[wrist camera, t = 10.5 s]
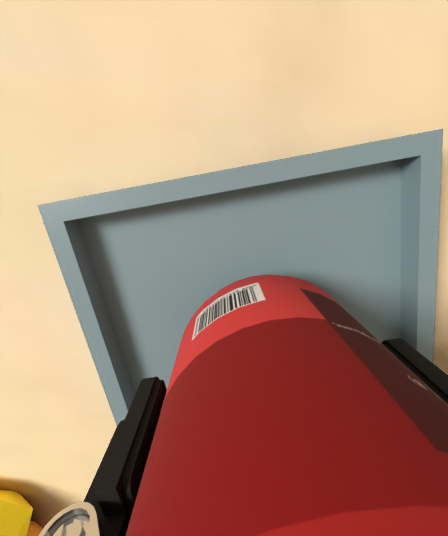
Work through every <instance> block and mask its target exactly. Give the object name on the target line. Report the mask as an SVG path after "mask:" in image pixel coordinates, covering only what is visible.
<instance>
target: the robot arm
mask: <svg viewBox="0 0 448 536" xmlns="http://www.w3.org/2000/svg"><path fill="white" fill-rule="evenodd" d="M382 344H383V345H384V346H385V347H386V348H387V349H388V350H389V351H390V352H391V353H393V354H394V355H395V356H396V357H397V358H398V359H399V360H400V361H401V362H402V363H403V364H404V365H406V366H407V367H408V368H409V369H410V370H411V371H412V372H413V373H414V374H415V375H416V376H417V377H419V378H420V379H421V380H422V381H423V382H424V383H425V384H426V385H427V386H428V387H429V388H430V389H432V390H433V391H434V392H435V393H436V394H437V395H438V396H439V397H440V398H441V399H442V400H444V401H445V402H446V403H447V404H448V375H447V374H445V373H444V372H443V371H442V370H440V369H439V368H438V367H437V366H435V365H434V364H433V363H432V362H430V361H429V360H428V359H427V358H425V357H424V356H423V355H422V354H421V353H419V352H418V351H417V350H416V349H414V348H413V347H412V346H411V345H409V344H408V343H407V342H406V341H404V340H403V339H401V338H395V339H388V340H384V341H382ZM166 392H167V389H166V385H165V382H164V380H160V379H159V378H158V377H151V378H144V379H142V380H141V382H140V385H139V387H138V389H137V392H136V394H135V396H134V399H133V401H132V403H131V406H130V408H129V410H128V413H127V415H126V417H125V420H122V421H120V423H119V424H118V426H117V428H116V430H115V433H114V435H113V437H112V439H111V441H110V444H109V446H108V448H107V450H106V453H105V455H104V457H103V459H102V462H101V464H100V466H99V468H98V471H97V473H96V475H95V477H94V479H93V482H92V484H91V486H90V488H89V491H88V493H87V495H86V497H85V500H84V502H78V503H74V504H72V505H70V506H68V507H66V508H64V509H63V510H61V511H60V512H59V513H58V514H56V515H55V516H54V517H53V518H52V519H51V520H50V521H49V522H48V523H47V524H46V525H45V527H44V528H43V530H42V531H41V533H40V534H39V535H38V536H126V532H127V529H128V525H129V522H130V518H131V515H132V511H133V508H134V504H135V501H136V497H137V494H138V490H139V487H140V483H141V480H142V476H143V473H144V469H145V466H146V462H147V458H148V455H149V451H150V448H151V444H152V441H153V437H154V434H155V430H156V427H157V423H158V420H159V416H160V413H161V409H162V406H163V402H164V399H165V395H166Z"/></svg>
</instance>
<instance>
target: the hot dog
mask: <svg viewBox="0 0 448 536" xmlns="http://www.w3.org/2000/svg"><path fill="white" fill-rule="evenodd" d="M32 511H33V508H32V507H31V506H30V505H29V503H28V502H27V501H26V500H25V499H24V498H23V497H22V496H21V494H19V493H17V492H15V491H9V490H0V536H38V535H39V534H40V533H41V531H42V530H43V528H42V527H41V526H40V525H38V524H37V523H36V522H35V521H30V520H31V515H32Z"/></svg>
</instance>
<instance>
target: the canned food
mask: <svg viewBox="0 0 448 536" xmlns="http://www.w3.org/2000/svg"><path fill="white" fill-rule="evenodd" d="M126 536H448V404H447V403H446V402H445V401H444V400H442V399H441V398H440V397H439V396H438V395H437V394H436V393H435V392H434V391H433V390H432V389H430V388H429V387H428V386H427V385H426V384H425V383H424V382H423V381H422V380H421V379H420V378H419V377H417V376H416V375H415V374H414V373H413V372H412V371H411V370H410V369H409V368H408V367H407V366H406V365H404V364H403V363H402V362H401V361H400V360H399V359H398V358H397V357H396V356H395V355H394V354H393V353H391V352H390V351H389V350H388V349H387V348H386V347H385V346H384V345H383V344H382V343H381V342H380V341H378V340H377V339H376V338H375V337H374V336H373V335H372V334H371V333H370V332H369V331H368V330H367V329H365V328H364V327H363V326H362V325H361V324H360V323H359V322H358V321H357V320H356V319H355V318H354V317H352V316H351V315H350V314H349V313H348V312H347V311H346V310H345V309H344V308H343V307H342V306H340V305H339V304H338V303H337V302H336V301H335V300H334V299H333V298H332V297H330V296H329V295H328V294H327V293H326V292H325V291H324V290H322V289H321V288H319V287H317V286H315V285H313V284H311V283H309V282H308V281H305V280H301V279H298V278H294V277H291V276H280V275H260V276H251V277H248V278H245V279H242V280H238V281H235V282H234V283H232V284H230V285H228V286H226V287H224V288H222V289H221V290H219V291H218V292H217V293H215V294H214V295H213V296H211V297H210V298H209V299H208V300H206V301H205V302H204V303H203V304H202V305H201V307H200V308H199V309H198V310H197V311H196V312H195V313H194V315H193V316H192V318H191V319H190V321H189V323H188V325H187V327H186V328H185V330H184V333H183V336H182V339H181V343H180V346H179V349H178V353H177V356H176V360H175V363H174V367H173V370H172V374H171V378H170V381H169V385H168V388H167V392H166V395H165V399H164V402H163V406H162V409H161V413H160V416H159V420H158V423H157V427H156V430H155V434H154V437H153V441H152V444H151V448H150V451H149V455H148V458H147V462H146V466H145V469H144V473H143V476H142V480H141V483H140V487H139V490H138V494H137V497H136V501H135V504H134V508H133V511H132V515H131V518H130V522H129V525H128V529H127V532H126Z"/></svg>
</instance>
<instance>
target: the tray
mask: <svg viewBox="0 0 448 536" xmlns="http://www.w3.org/2000/svg"><path fill="white" fill-rule="evenodd" d="M442 143H443V129H439V130H434V131H429V132H423V133H418V134H413V135H407V136H402V137H397V138H392V139H386V140H381V141H376V142H370V143H365V144H360V145H354V146H349V147H344V148H338V149H333V150H328V151H323V152H317V153H312V154H307V155H301V156H296V157H291V158H285V159H280V160H275V161H269V162H264V163H259V164H254V165H248V166H243V167H238V168H232V169H227V170H222V171H216V172H211V173H206V174H200V175H195V176H190V177H185V178H179V179H174V180H169V181H163V182H158V183H153V184H147V185H142V186H137V187H131V188H126V189H121V190H116V191H110V192H105V193H100V194H94V195H89V196H84V197H78V198H73V199H68V200H62V201H57V202H52V203H47V204H41V205H38V208H39V211H40V213H41V216H42V219H43V222H44V225H45V227H46V230H47V233H48V236H49V238H50V241H51V244H52V247H53V250H54V252H55V255H56V258H57V261H58V263H59V266H60V269H61V272H62V275H63V277H64V280H65V283H66V286H67V288H68V291H69V294H70V297H71V300H72V302H73V305H74V308H75V311H76V313H77V316H78V319H79V322H80V324H81V327H82V330H83V333H84V336H85V338H86V341H87V344H88V347H89V349H90V352H91V355H92V358H93V361H94V363H95V366H96V369H97V372H98V374H99V377H100V380H101V383H102V386H103V388H104V391H105V394H106V397H107V399H108V402H109V405H110V408H111V411H112V413H113V416H114V419H115V422H116V424H117V426H118V424H119V423H120V421H122V420H125V417H126V415H127V413H128V410H129V408H130V406H131V403H132V401H133V399H134V396H135V394H136V392H137V389H138V387H139V385H140V382H141V380H142V379H144V378H151V377H158V378H159V379H160V380H164V382H165V385H166V389H167V388H168V385H169V381H170V378H171V374H172V370H173V367H174V363H175V360H176V356H177V353H178V349H179V346H180V343H181V339H182V336H183V333H184V330H185V328H186V327H187V325H188V323H189V321H190V319H191V318H192V316H193V315H194V313H195V312H196V311H197V310H198V309H199V308H200V307H201V305H202V304H203V303H204V302H205V301H206V300H208V299H209V298H210V297H211V296H213V295H214V294H215V293H217V292H218V291H219V290H221V289H222V288H224V287H226V286H228V285H230V284H232V283H234V282H235V281H238V280H242V279H245V278H248V277H251V276H260V275H280V276H291V277H294V278H298V279H301V280H305V281H308V282H309V283H311V284H313V285H315V286H317V287H319V288H321V289H322V290H324V291H325V292H326V293H327V294H328V295H329V296H330V297H332V298H333V299H334V300H335V301H336V302H337V303H338V304H339V305H340V306H342V307H343V308H344V309H345V310H346V311H347V312H348V313H349V314H350V315H351V316H352V317H354V318H355V319H356V320H357V321H358V322H359V323H360V324H361V325H362V326H363V327H364V328H365V329H367V330H368V331H369V332H370V333H371V334H372V335H373V336H374V337H375V338H376V339H377V340H378V341H380V342H381V343H382V341H384V340H388V339H395V338H401V339H403V340H404V341H406V342H407V343H408V344H409V345H411V346H412V347H413V348H414V349H416V350H417V351H418V352H419V353H421V354H422V355H423V356H424V357H425V358H427V359H428V360H429V361H430V362H432V363H433V354H434V331H435V307H436V284H437V260H438V237H439V213H440V190H441V166H442Z"/></svg>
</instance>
